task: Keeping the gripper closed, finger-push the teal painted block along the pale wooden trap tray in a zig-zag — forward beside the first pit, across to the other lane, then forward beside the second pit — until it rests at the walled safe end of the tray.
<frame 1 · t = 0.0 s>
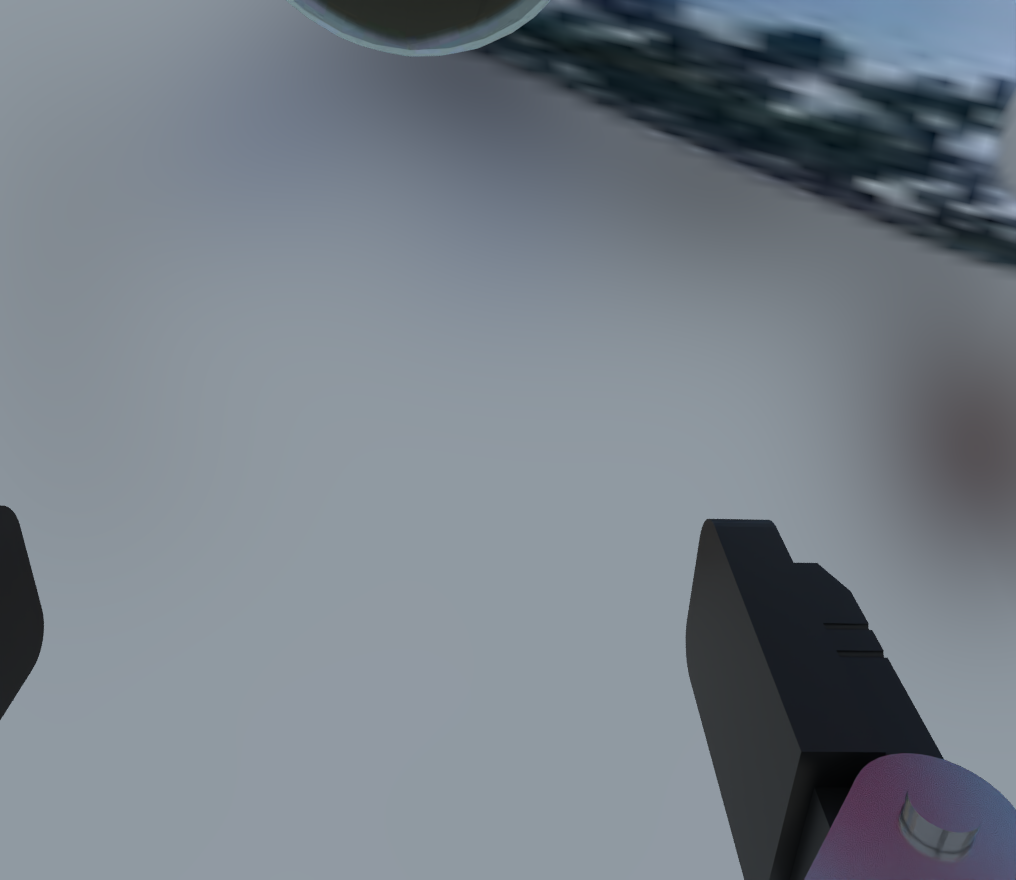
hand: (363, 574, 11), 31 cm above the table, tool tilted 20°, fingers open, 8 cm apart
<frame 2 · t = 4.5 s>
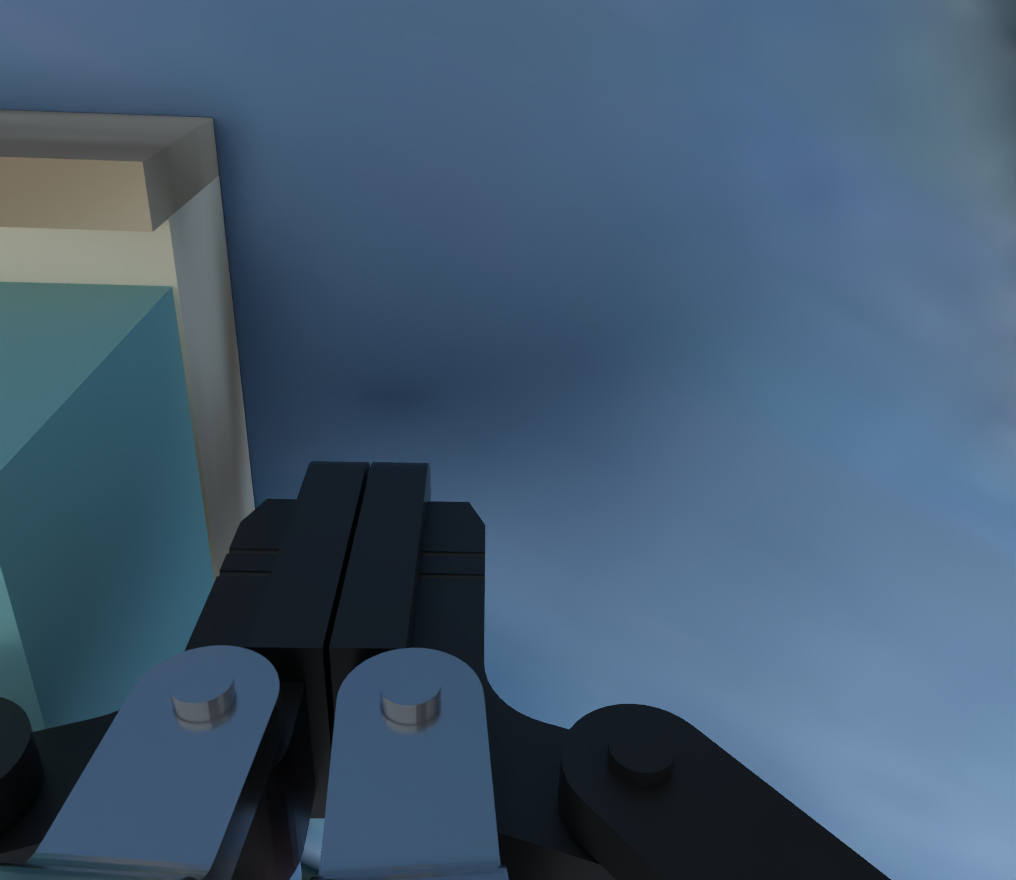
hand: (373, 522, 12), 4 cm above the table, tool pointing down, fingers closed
teal block: (14, 454, 13), point 2 cm above the table, touching gripper, trap tray
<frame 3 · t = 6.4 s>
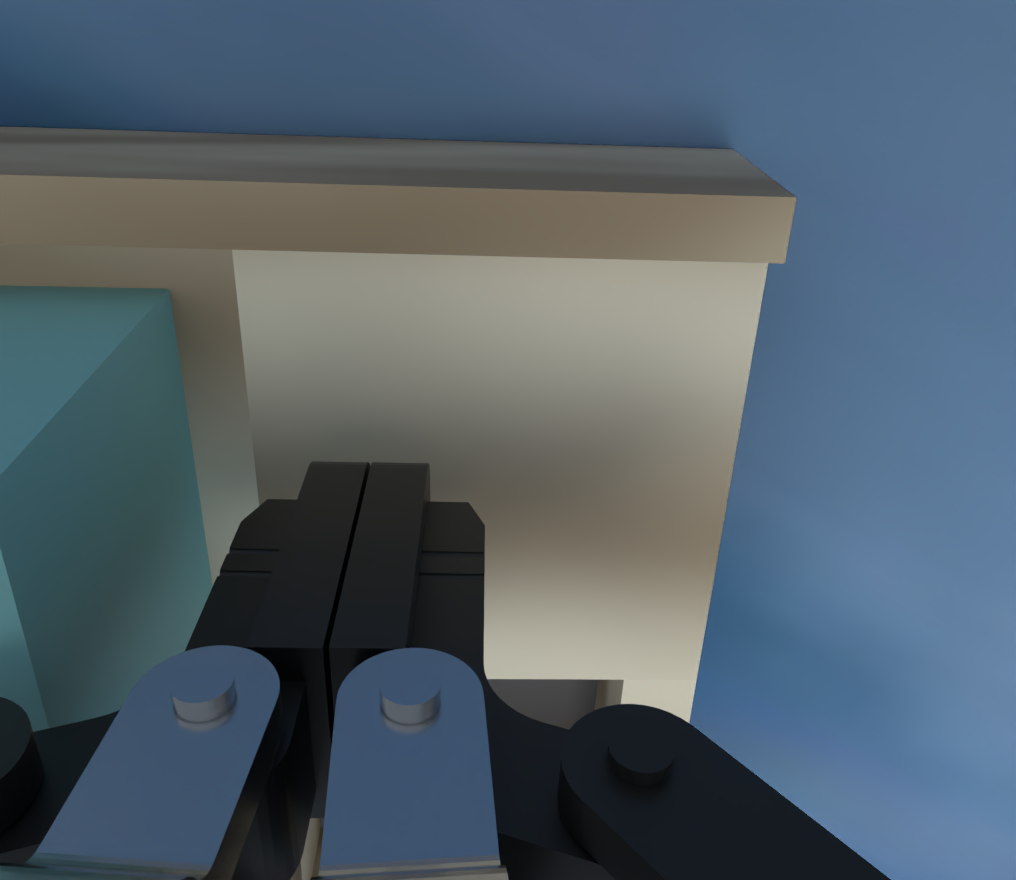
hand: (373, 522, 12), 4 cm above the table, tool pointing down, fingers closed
teal block: (11, 458, 13), point 2 cm above the table, touching gripper, trap tray
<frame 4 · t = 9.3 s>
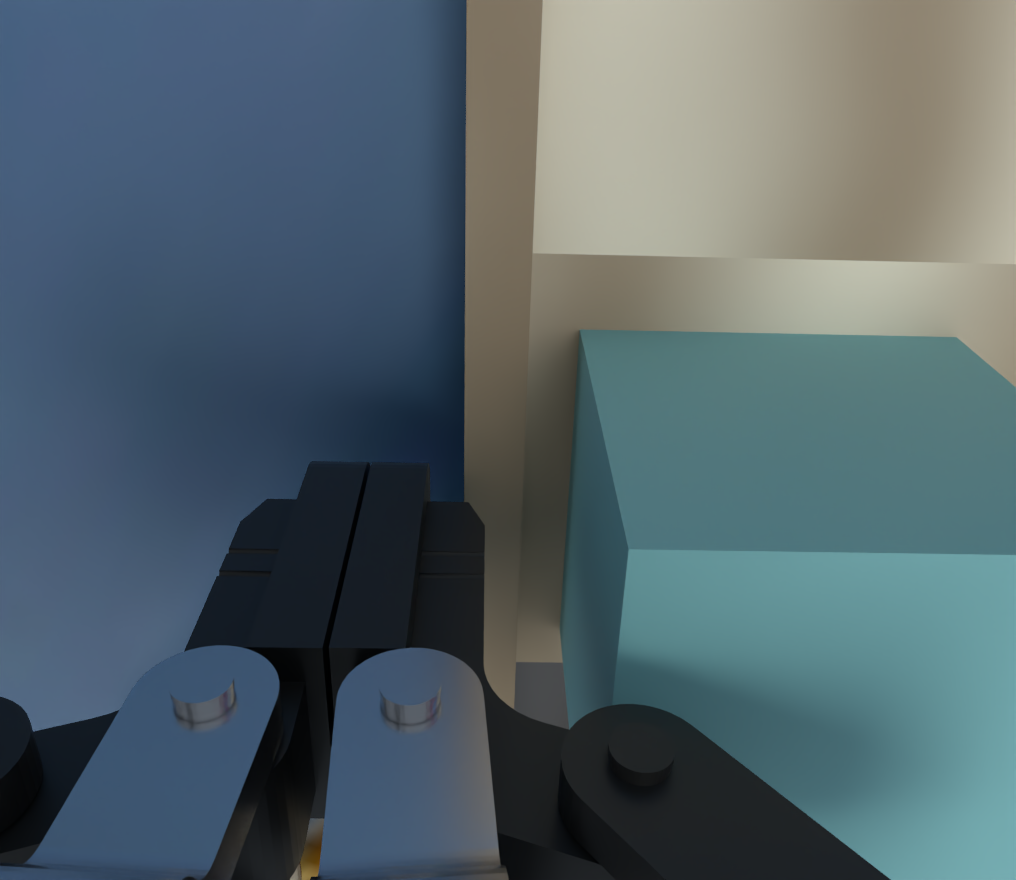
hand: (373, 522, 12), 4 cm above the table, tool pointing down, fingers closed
teal block: (741, 495, 13), point 2 cm above the table, touching gripper, trap tray
trap tray: (885, 532, 17), on the table
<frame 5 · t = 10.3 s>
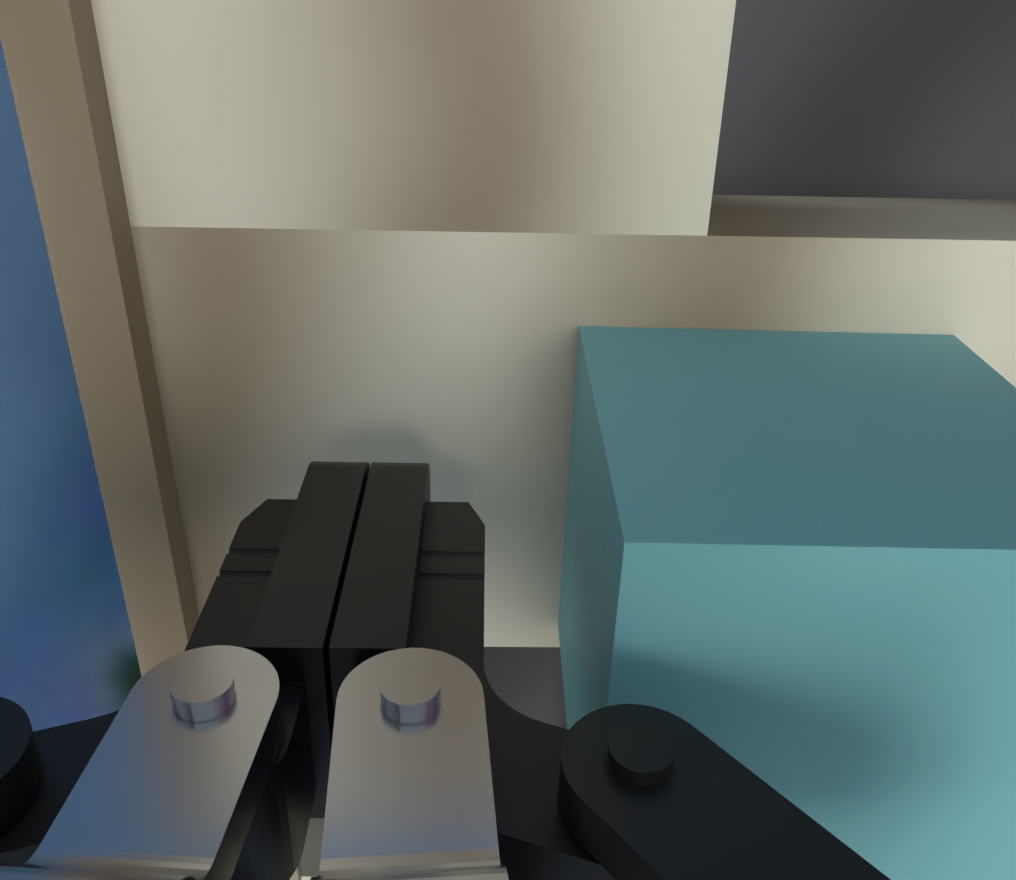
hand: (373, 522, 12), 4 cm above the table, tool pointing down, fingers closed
teal block: (739, 491, 13), point 2 cm above the table, touching gripper
trap tray: (612, 513, 16), on the table
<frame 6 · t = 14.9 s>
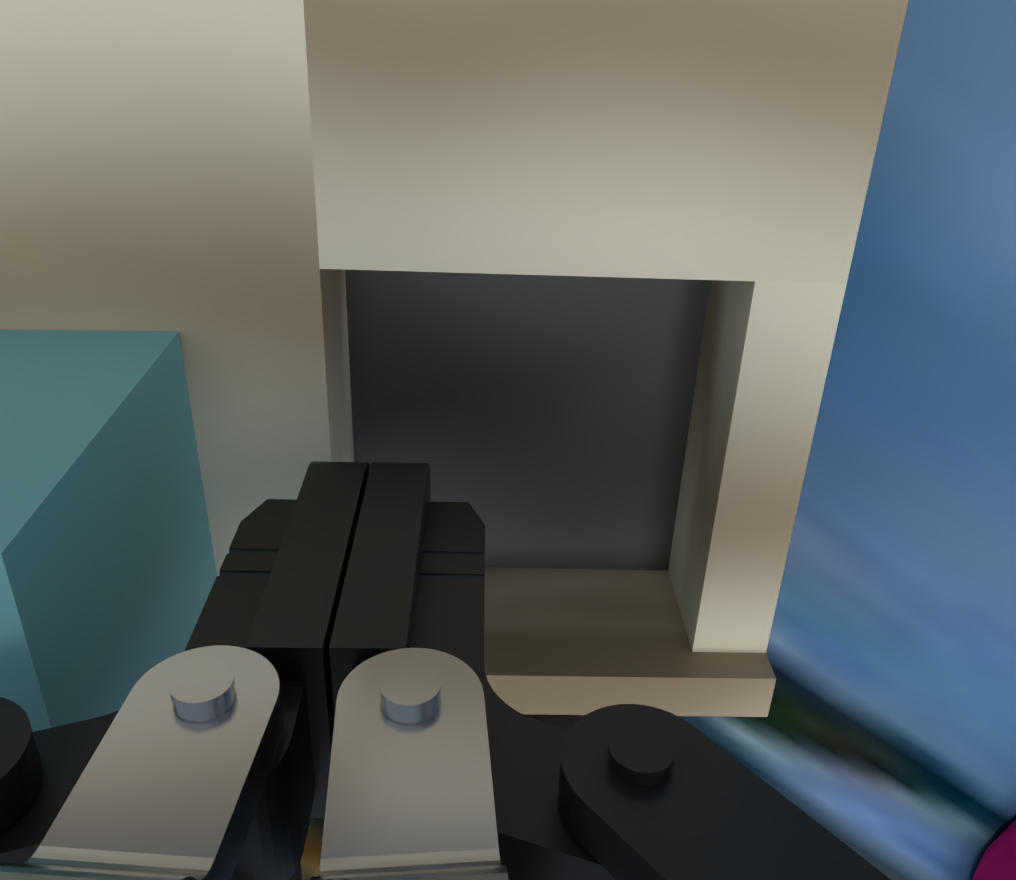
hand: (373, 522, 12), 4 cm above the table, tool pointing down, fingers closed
teal block: (27, 493, 13), point 2 cm above the table, touching gripper, trap tray
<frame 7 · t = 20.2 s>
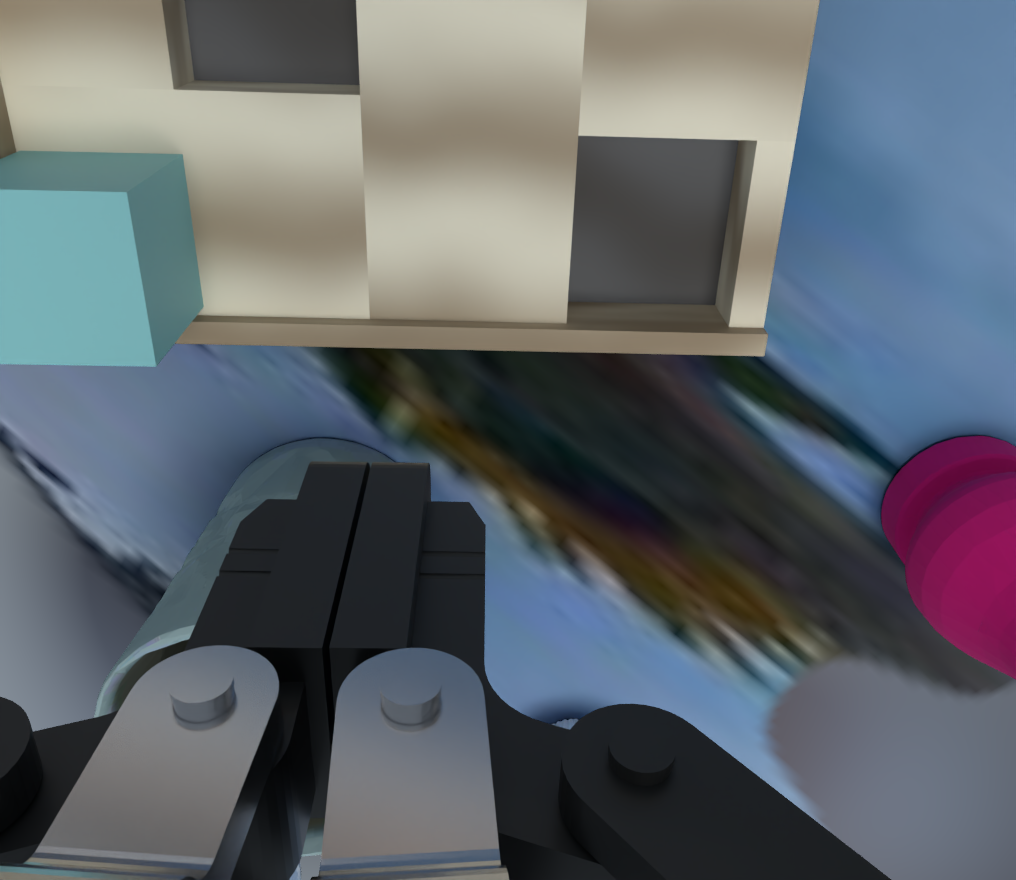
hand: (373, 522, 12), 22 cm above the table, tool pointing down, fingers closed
teal block: (115, 231, 30), point 2 cm above the table, touching trap tray
trap tray: (400, 101, 30), on the table
pepper mill: (953, 497, 38), on the table
grey green cup: (327, 527, 38), on the table
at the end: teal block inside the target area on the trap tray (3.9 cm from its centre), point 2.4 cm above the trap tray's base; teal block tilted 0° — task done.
